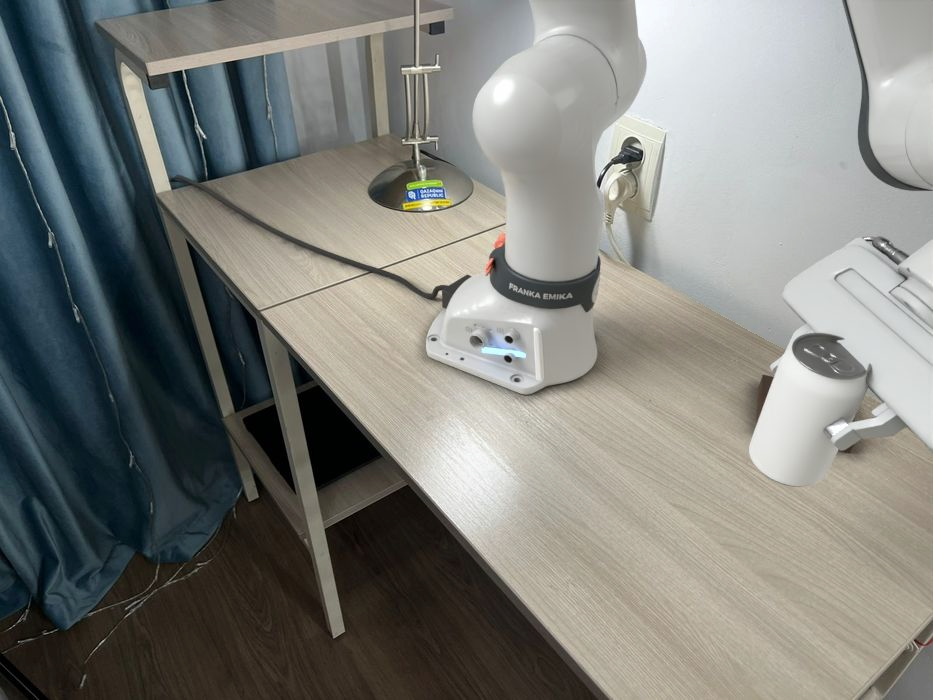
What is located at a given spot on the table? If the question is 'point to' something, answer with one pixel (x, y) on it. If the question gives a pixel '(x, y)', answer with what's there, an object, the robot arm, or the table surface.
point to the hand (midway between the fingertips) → (802, 407)
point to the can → (806, 409)
